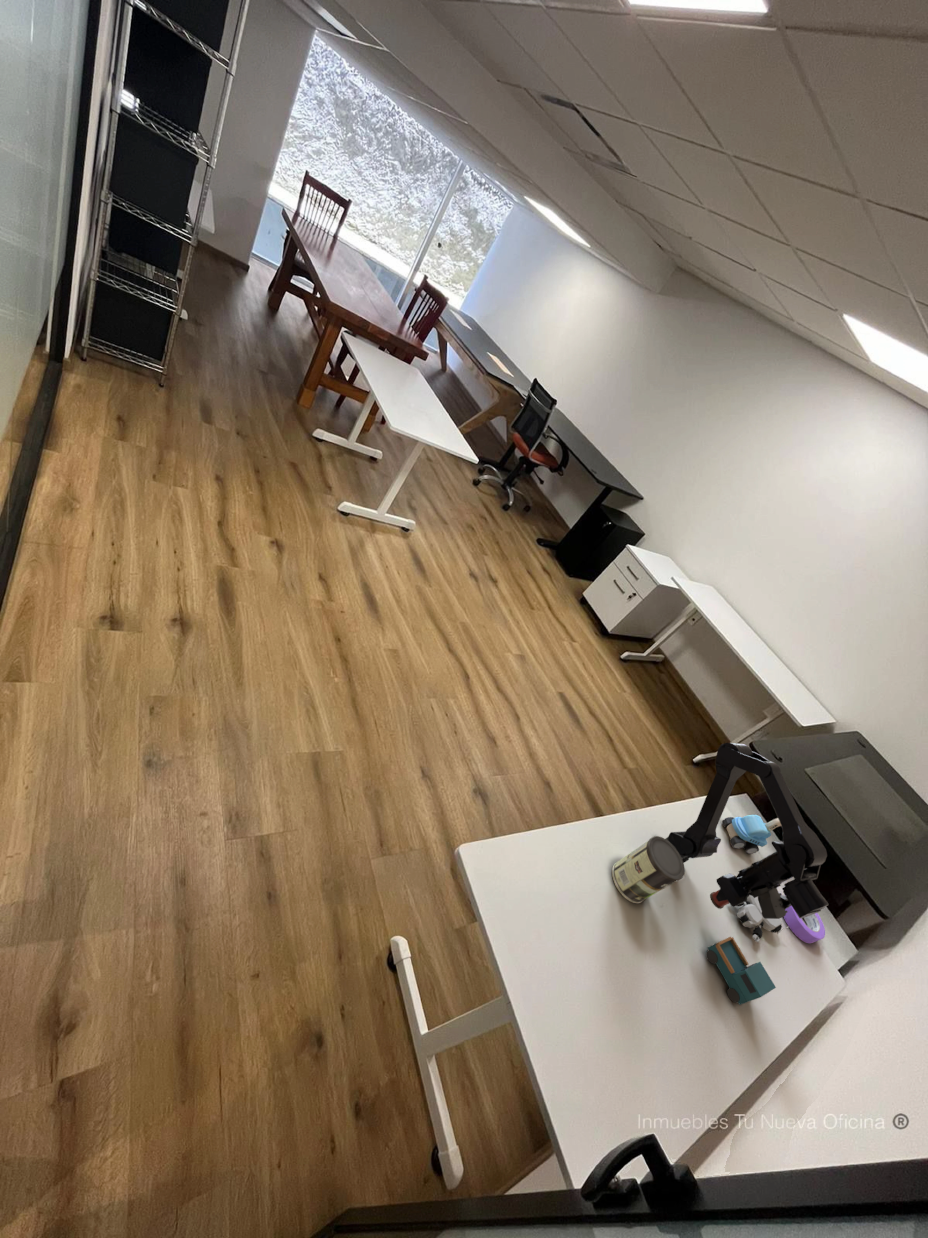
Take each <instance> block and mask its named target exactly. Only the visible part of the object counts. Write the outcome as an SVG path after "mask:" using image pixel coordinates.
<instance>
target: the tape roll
mask: <svg viewBox="0 0 928 1238" xmlns="http://www.w3.org/2000/svg"><path fill="white" fill-rule="evenodd" d="M785 911H787V913H786V915H785V916H784V917H783V919H784V921H785V923H786V925H787V927H788V928H789V929H790V930H791V932H792V933H793V934H794V935H795V936H796V937H797V938H798V939H799V940H801V941H802V942H804V943H806V944H813V943H816V942H819V941H821V940H823V939H824V938H825V937H826V928H825V925H824V922H823V920H822V918H821V916H820V914H819V912H818V913H815V914H813V915H810V916H807V917H804V918H799V917H798V915H797V914H796V912H795V910H794V909H793V907H792V905H791V906H790V907H788V908H787V909H785ZM803 919H804V920H803Z"/></svg>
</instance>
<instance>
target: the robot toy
mask: <svg viewBox="0 0 928 1238" xmlns="http://www.w3.org/2000/svg"><path fill="white" fill-rule="evenodd" d="M736 907H739V908H738V911H737V913H736V915H737V918H738V919H739V921H740V923H741V925H742V926H743V927H746V928H749V929H753V930H752V934H751V936H752V939H753V940H754V941H755V943H760V941H761V938H762V937H763V930H762V928H763V929H764V930H766V931H768V932H771V933H777V934H780V933H781V932H782V931H785V929H788V928H789V926H786V927H784V928H783V926H782V924H783V917H782V918H780V919H765V918H764V917H763V916H762V910H761V907H760V904H759V901H758V897H756V898H754V897H753V896H751V895H749V897H747V901H746V902H744V903H742V904H739V905H737V906H736ZM782 928H783V929H782Z"/></svg>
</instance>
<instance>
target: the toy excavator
mask: <svg viewBox="0 0 928 1238" xmlns="http://www.w3.org/2000/svg"><path fill="white" fill-rule="evenodd" d="M721 823H722V825H723V827H724V829H725V830H726V831H727V834H728V836H729V838H730V839H729V842H730V845H731V847H732V848H734V849H739V850H740V849H743V850H744V852H745V853H746V854H748V855H754V854H756V853H757V852H759V851H760V848H759V847H761V848H763V847H765V846H767V845H768V840H767V839H768V838H770V837H771V836H772V833H771V832H772V831H773V830H775V829H776V828H779V827H782V826H781V823H780V821H779V819H778V817H776V818H773V819H772V820H770V821H768V822H764V820H763V818H762V817H761V816H760V815H757V814H748V815H745V816H742V817H741V816H736V817H732V816H729V817H725V818H724V819H722V821H721Z"/></svg>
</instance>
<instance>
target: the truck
mask: <svg viewBox="0 0 928 1238" xmlns="http://www.w3.org/2000/svg"><path fill="white" fill-rule="evenodd" d="M706 948H707V951H706V953H705V956H706V959H707V961H708V962H710V963H711V964H714V965H716V966H717V968H718V970H719V972H720V973H721V975H722V977H723V979H724V980H725V983H726V984H727V986H728V989H727V990H726V992H727V993H726V994H727V997H728V999H729V1000H730V1001H731V1002H733V1003H737V1004H738V1006H740V1005H743V1004H747V1003H748V1002H751V1001H755V1000H757V999H759V998H762V997H764V996H765V995H767V994H768V993H770V992H772V991H774V990H775V989H776V988H777V987H776V985H775V983H774V982H773V980H772V979H771V977H770V976H769V973H768V972H767V971H766V968H765V967H764V965H763V964H762V962H761V961H758V962H755V963H753V964H752V963H751V964H750V965H749V962H748V961H747V959H746V956H745V955H744V954H743V952H742V950H741V949H740V947H739V945H738V943H737V942H736V940H735V938H734V936H733V937H732V936H729V937H726V938H724V939H722V940H720V941H718V942H715V943H714V944H712V945H710V946H707V947H706Z"/></svg>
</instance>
